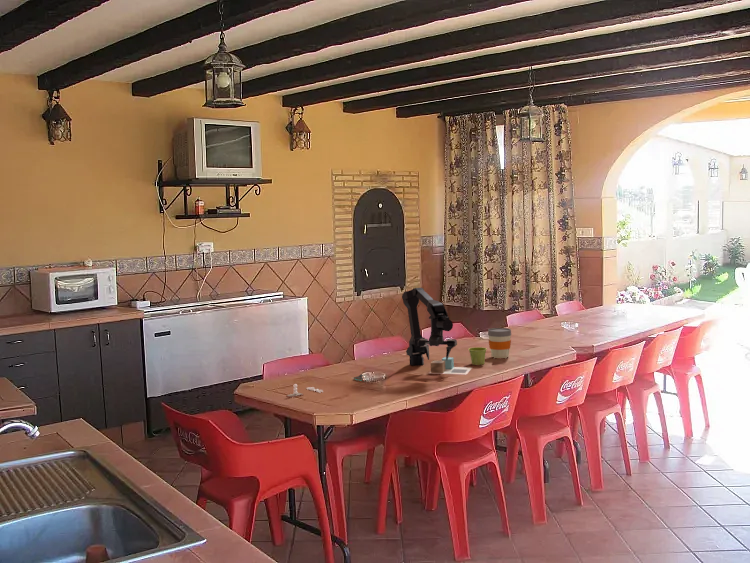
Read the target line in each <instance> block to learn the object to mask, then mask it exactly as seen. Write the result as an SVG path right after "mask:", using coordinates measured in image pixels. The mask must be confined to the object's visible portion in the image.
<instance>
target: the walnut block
mask: <svg viewBox="0 0 750 563" xmlns="http://www.w3.org/2000/svg"><path fill="white" fill-rule="evenodd" d="M430 371H431V373H430V374H434V373H444V372H445V361H442V360H437V359H436V360H432V361H431V362H430Z"/></svg>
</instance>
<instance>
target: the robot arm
mask: <svg viewBox="0 0 750 563" xmlns="http://www.w3.org/2000/svg"><path fill="white" fill-rule="evenodd" d="M401 300H402V301H403V305H404V306H405V308H406V309H407V314H408V322H409V329H410V338H409V341H408V347H407V349H406V350H405V352H406V356H408V357H409V366H412V367H413V366H415V367H418V366H419V367H420V366H424V365H425V362H424V360H425V359H424V356H423V355H426V358H427V360H430V350H429V349H430V347H439V346H441V345H443V346H444V345H446V346H445V348H446V352H445V357H446V360H448V357H450V353H451V350H452V349H453V348H455V347H456V346H457V345H458V342H457V339H456V338H455V339H454V338H453V339H452V338H450V339H448V340H444V331H445V332H450V331H451V330H453V327H454V323H453V320H451V319H450V317H449V314H448V311H447V309H446V307H445V304H444V303H443V302H440V301H438V300H435V299H433V297H431V296H430V294H428V292H426V291H425V290H424V288H423V287H414V288H412V289H409V290H406V291H403V293H402V295H401ZM420 302H421V303H422V304H423V305H424V306H425V307H426V311H427V312H428V314H429V315H430V316H428V319H429V320H430V336H429V338H425V337H423V335H422V334H421V327H420V320H419V319H420V318H419V313H418V306H419V303H420Z"/></svg>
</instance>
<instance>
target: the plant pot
mask: <svg viewBox="0 0 750 563" xmlns="http://www.w3.org/2000/svg"><path fill="white" fill-rule="evenodd" d="M467 350H468V352H469V355H470V361H471V364H472V365H475V366H482V365H485V360H486V353H487V351H488V348H487V347H482V346H481V347H480V346H479V347H478V346H477V347H469V348H468V349H467Z"/></svg>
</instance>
